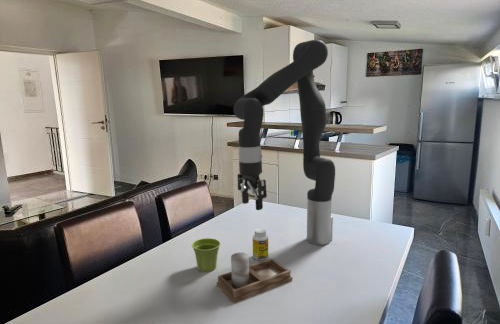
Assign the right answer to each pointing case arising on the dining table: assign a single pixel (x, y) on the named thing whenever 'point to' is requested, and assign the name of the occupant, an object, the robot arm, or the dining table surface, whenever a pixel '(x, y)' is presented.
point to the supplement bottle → (260, 244)
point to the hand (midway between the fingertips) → (252, 206)
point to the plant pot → (206, 253)
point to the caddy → (251, 277)
